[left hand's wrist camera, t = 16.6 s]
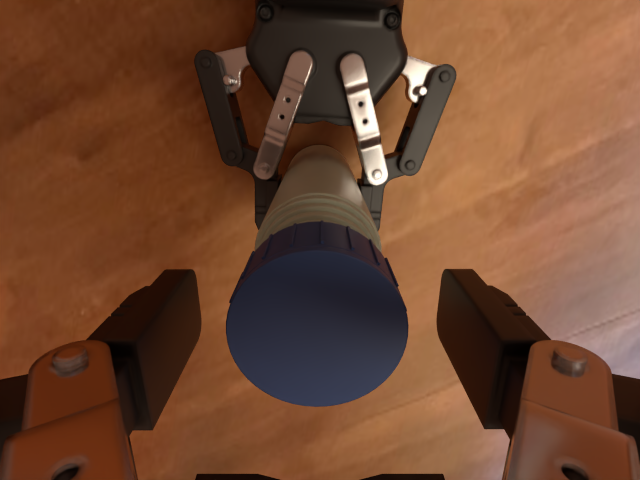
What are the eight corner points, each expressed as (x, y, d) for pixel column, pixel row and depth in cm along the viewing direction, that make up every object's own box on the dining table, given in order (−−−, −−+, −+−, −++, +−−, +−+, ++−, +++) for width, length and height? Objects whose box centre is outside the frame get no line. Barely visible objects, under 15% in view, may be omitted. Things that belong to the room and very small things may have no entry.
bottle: (289, 208, 30) (235, 399, 11) (285, 145, 28) (214, 241, 9) (351, 206, 30) (405, 395, 11) (350, 143, 28) (413, 234, 9)
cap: (397, 348, 12) (413, 400, 10) (255, 362, 13) (241, 416, 10) (390, 211, 11) (408, 239, 9) (227, 228, 11) (205, 259, 9)
